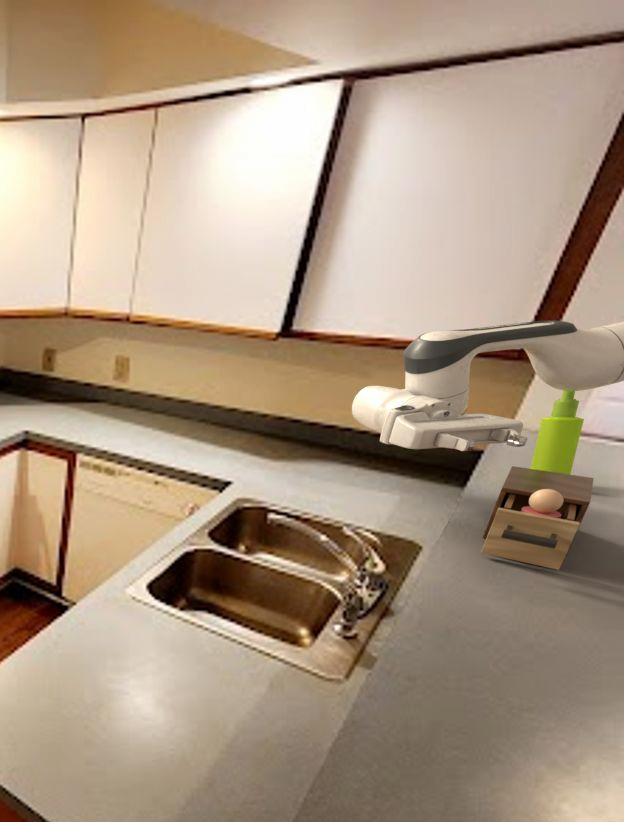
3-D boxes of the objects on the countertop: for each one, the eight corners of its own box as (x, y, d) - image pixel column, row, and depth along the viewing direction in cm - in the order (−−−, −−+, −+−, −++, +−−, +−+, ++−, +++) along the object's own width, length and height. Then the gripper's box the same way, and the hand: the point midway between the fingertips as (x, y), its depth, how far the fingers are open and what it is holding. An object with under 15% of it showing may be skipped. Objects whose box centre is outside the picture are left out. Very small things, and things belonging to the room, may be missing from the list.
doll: (541, 542, 102) (565, 486, 98) (551, 553, 98) (576, 496, 94) (504, 537, 104) (526, 483, 100) (512, 548, 100) (536, 492, 96)
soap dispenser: (546, 485, 124) (571, 383, 119) (519, 480, 131) (541, 383, 126) (580, 486, 123) (606, 382, 118) (551, 480, 130) (575, 382, 125)
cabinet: (566, 555, 101) (590, 502, 97) (482, 538, 108) (502, 487, 104) (571, 527, 110) (593, 477, 106) (493, 513, 117) (512, 466, 113)
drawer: (556, 580, 93) (578, 533, 90) (476, 562, 99) (493, 517, 96) (564, 541, 104) (583, 498, 100) (492, 527, 110) (507, 486, 107)
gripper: (472, 435, 119) (546, 457, 106) (371, 442, 117) (433, 466, 105) (484, 402, 116) (561, 421, 103) (381, 409, 115) (446, 430, 102)
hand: (496, 444), depth 104 cm, fingers open, 8 cm apart
